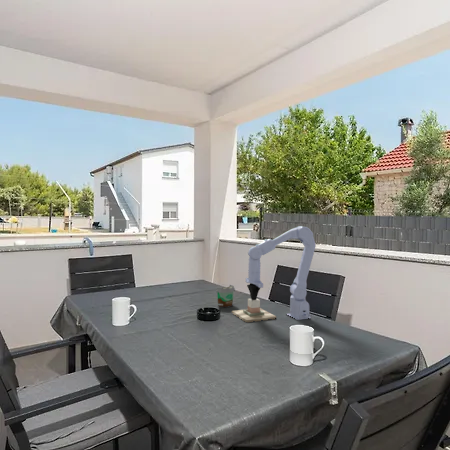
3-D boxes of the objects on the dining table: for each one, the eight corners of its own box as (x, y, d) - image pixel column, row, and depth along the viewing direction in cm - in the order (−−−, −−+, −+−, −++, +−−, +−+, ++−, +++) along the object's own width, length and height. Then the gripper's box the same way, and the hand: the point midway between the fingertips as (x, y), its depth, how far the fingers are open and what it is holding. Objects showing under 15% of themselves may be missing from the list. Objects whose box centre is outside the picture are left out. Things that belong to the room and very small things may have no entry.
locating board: (276, 318, 171) (276, 313, 171) (246, 322, 165) (246, 317, 165) (260, 310, 186) (260, 305, 186) (231, 313, 179) (231, 308, 179)
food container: (225, 309, 187) (225, 289, 187) (216, 307, 191) (216, 288, 190) (239, 304, 197) (239, 286, 196) (230, 302, 201) (230, 284, 200)
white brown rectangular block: (259, 314, 174) (260, 300, 173) (251, 315, 172) (251, 300, 172) (255, 312, 178) (256, 297, 178) (247, 312, 176) (247, 298, 176)
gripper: (240, 269, 179) (239, 296, 180) (254, 274, 166) (253, 303, 167) (253, 269, 182) (252, 295, 183) (267, 273, 169) (266, 302, 169)
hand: (253, 299), depth 175 cm, fingers closed, pressing on white brown rectangular block
